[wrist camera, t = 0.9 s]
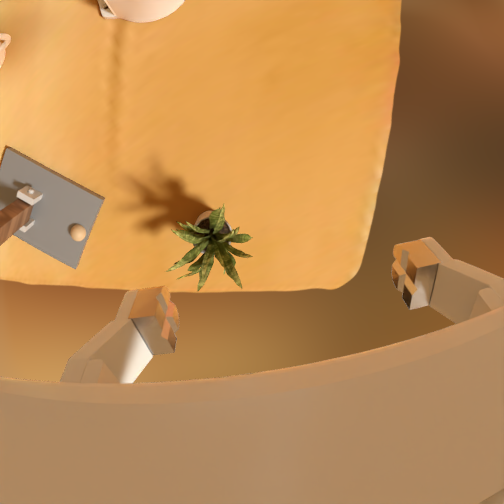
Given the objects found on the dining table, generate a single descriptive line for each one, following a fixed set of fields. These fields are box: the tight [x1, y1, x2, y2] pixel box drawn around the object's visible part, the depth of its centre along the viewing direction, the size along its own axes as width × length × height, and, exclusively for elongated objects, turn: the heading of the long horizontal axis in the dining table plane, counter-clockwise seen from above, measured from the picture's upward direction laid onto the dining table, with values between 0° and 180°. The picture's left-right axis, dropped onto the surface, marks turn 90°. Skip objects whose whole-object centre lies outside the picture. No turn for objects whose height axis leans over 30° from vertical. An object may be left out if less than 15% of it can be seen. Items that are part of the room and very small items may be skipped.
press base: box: [0, 147, 105, 269], centre depth 47 cm, size 24×16×6 cm, turn 56°
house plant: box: [166, 204, 253, 291], centre depth 50 cm, size 14×14×16 cm
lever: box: [0, 198, 34, 245], centre depth 37 cm, size 3×6×19 cm, turn 146°
